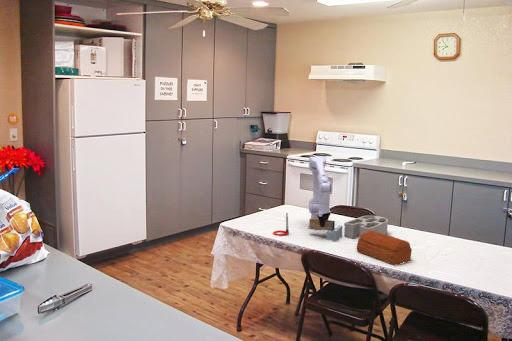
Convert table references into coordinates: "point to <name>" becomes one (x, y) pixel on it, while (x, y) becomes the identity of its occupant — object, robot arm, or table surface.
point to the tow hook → (283, 231)
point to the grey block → (334, 234)
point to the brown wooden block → (316, 224)
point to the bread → (384, 247)
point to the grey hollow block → (365, 226)
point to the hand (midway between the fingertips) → (323, 225)
